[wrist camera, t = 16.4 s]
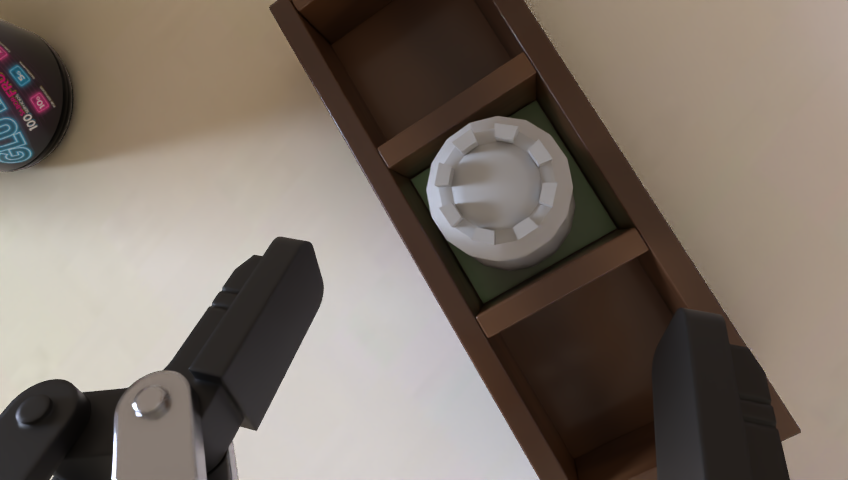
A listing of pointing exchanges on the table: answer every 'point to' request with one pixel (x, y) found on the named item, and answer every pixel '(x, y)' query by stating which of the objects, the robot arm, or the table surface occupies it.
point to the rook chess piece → (502, 193)
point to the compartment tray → (529, 287)
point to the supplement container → (30, 98)
